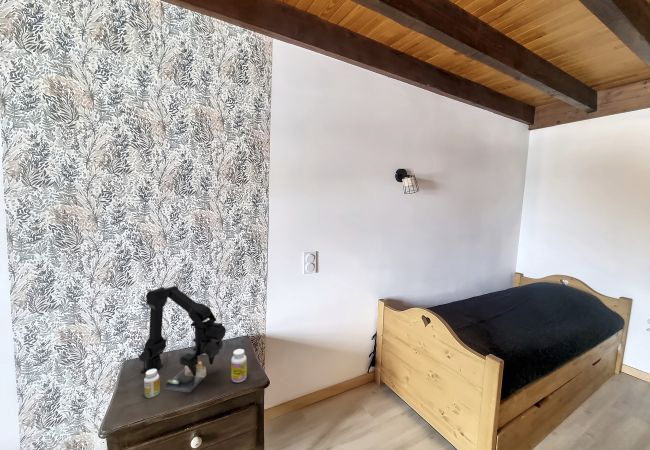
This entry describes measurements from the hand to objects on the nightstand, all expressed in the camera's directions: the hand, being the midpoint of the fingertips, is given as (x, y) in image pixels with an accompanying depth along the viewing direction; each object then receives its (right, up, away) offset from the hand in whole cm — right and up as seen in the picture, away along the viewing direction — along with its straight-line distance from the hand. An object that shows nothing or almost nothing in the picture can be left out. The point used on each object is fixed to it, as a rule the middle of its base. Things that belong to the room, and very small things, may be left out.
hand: (203, 369), depth 123 cm
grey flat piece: (-7, -5, +2) cm, 9 cm away
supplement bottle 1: (-18, -6, -7) cm, 20 cm away
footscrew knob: (-5, -4, 0) cm, 6 cm away
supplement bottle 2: (+15, -6, +3) cm, 16 cm away
